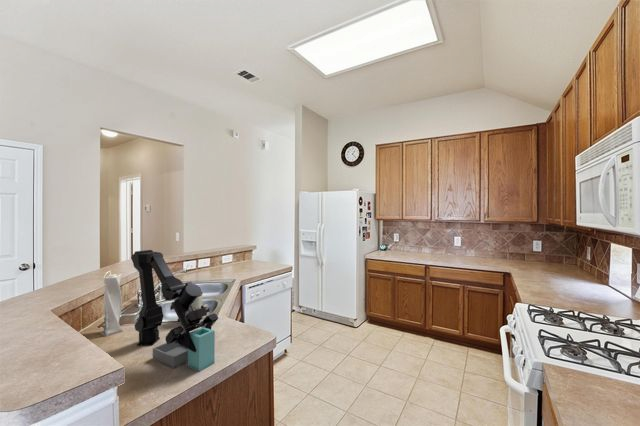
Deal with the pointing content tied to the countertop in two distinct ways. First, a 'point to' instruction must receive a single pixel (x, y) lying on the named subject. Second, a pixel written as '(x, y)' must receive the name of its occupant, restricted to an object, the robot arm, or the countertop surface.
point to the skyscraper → (112, 304)
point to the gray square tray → (171, 354)
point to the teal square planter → (202, 349)
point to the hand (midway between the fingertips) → (203, 347)
